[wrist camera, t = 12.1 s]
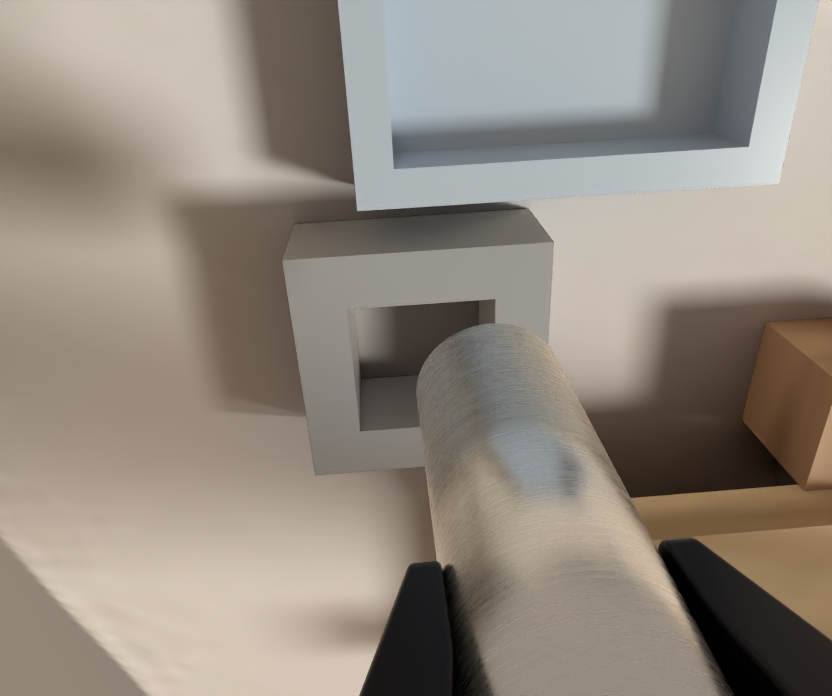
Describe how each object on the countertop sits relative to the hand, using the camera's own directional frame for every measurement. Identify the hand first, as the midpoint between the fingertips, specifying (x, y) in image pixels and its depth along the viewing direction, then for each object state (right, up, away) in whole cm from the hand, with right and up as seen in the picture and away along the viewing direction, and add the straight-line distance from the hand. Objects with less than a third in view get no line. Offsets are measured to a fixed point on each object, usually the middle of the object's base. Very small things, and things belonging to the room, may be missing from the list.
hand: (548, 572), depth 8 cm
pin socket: (-2, +4, +13) cm, 13 cm away
